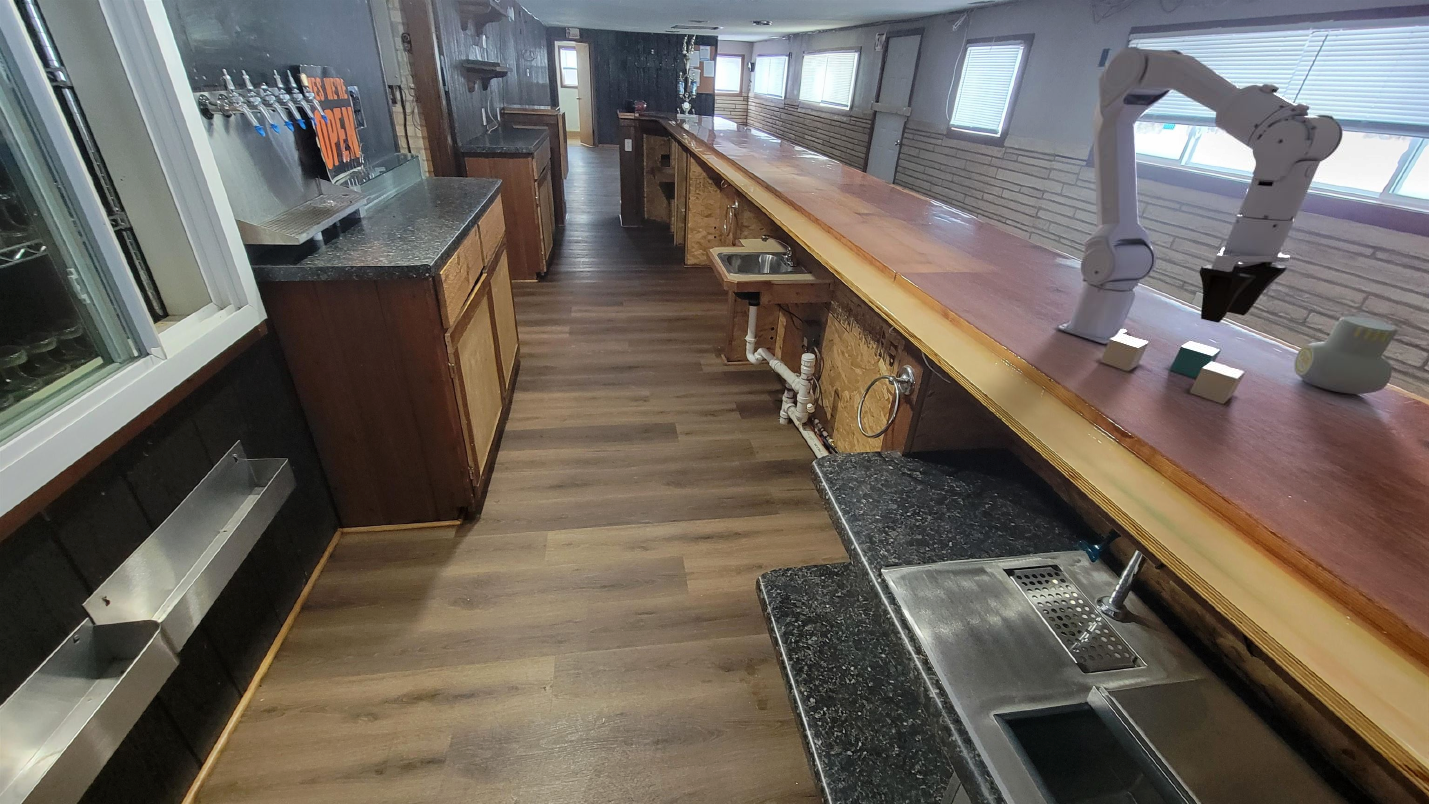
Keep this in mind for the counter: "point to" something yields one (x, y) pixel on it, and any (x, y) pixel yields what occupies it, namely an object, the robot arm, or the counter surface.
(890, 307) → the counter surface
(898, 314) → the counter surface
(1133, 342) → the line block
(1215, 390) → the line block
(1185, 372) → the teal block
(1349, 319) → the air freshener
